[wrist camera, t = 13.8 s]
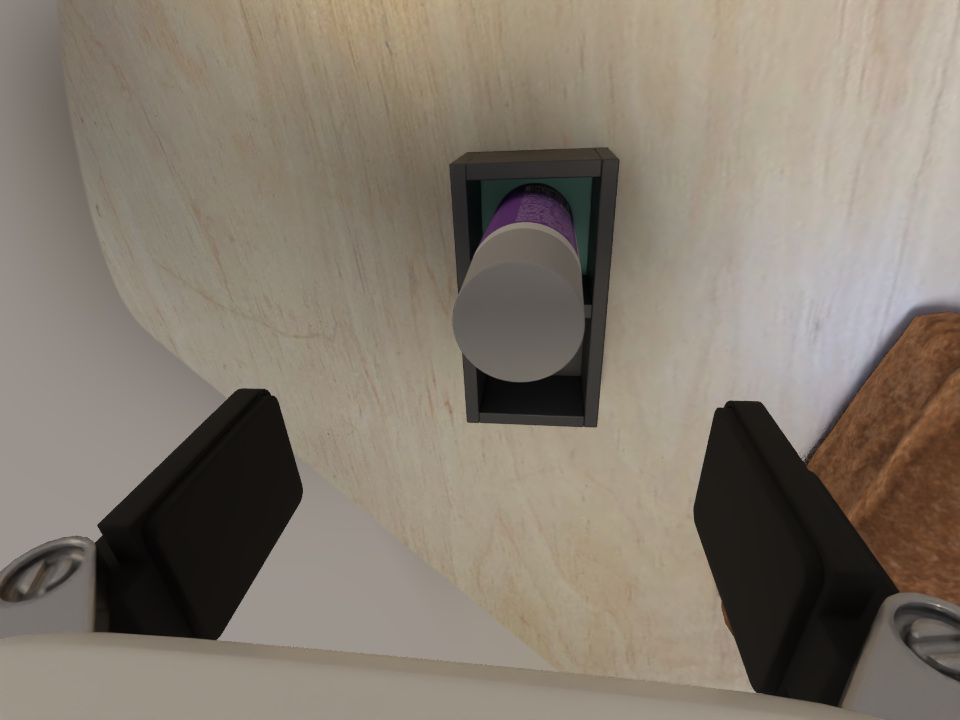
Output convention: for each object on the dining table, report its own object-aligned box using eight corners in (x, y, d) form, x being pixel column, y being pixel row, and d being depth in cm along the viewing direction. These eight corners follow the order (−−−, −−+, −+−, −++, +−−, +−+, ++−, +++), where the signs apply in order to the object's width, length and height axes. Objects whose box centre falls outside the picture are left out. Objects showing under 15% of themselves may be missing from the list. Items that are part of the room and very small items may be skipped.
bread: (704, 594, 44) (749, 743, 34) (911, 289, 29) (1097, 391, 19) (894, 641, 43) (996, 805, 33) (1198, 356, 29) (1540, 495, 19)
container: (480, 206, 29) (422, 296, 16) (551, 166, 28) (550, 230, 15) (516, 273, 31) (490, 404, 18) (586, 239, 29) (611, 354, 16)
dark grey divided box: (478, 378, 36) (466, 422, 31) (466, 152, 29) (449, 163, 24) (590, 382, 35) (597, 428, 30) (608, 147, 28) (619, 158, 23)
